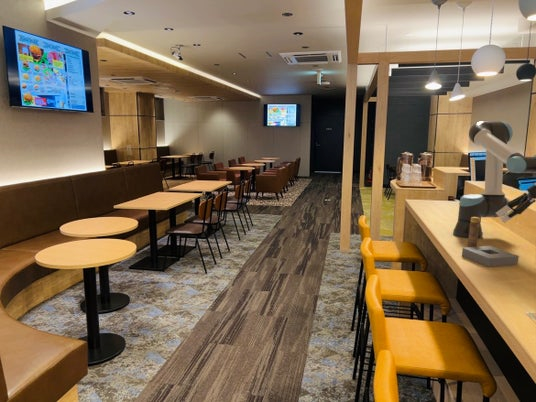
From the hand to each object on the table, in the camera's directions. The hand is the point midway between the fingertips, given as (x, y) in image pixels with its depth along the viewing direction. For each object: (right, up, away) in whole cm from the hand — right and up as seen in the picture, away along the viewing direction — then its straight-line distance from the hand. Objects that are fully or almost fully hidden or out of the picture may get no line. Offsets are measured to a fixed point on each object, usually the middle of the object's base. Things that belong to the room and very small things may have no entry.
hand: (499, 217), depth 191 cm
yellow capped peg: (-10, -16, +7) cm, 20 cm away
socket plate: (-11, -19, -11) cm, 25 cm away
